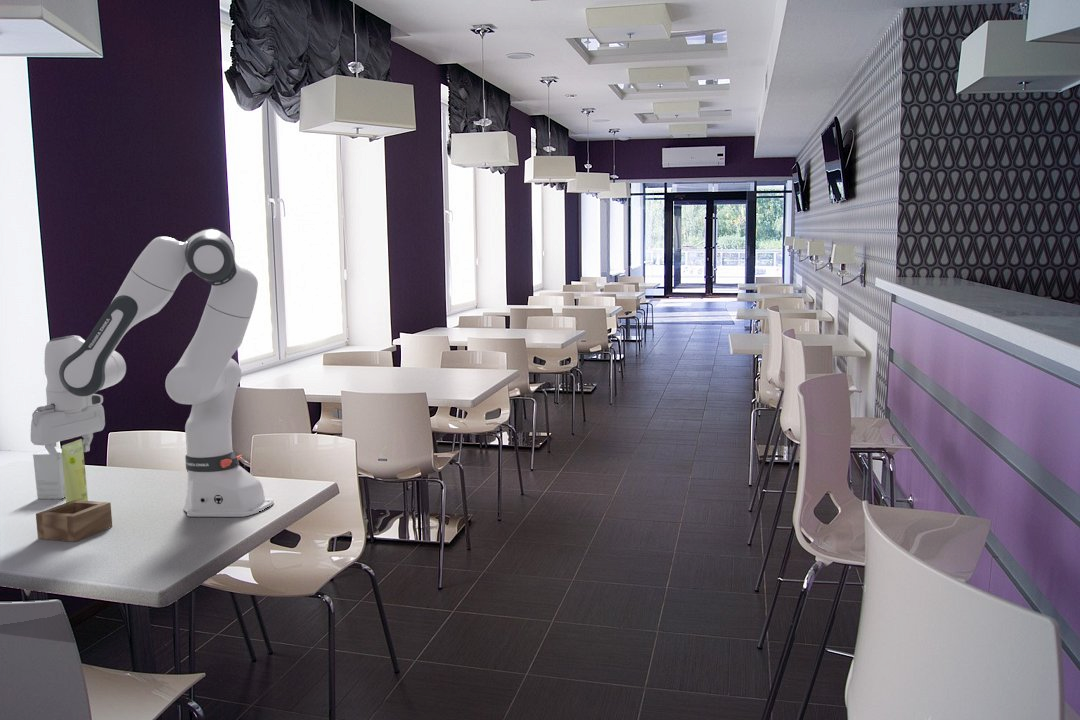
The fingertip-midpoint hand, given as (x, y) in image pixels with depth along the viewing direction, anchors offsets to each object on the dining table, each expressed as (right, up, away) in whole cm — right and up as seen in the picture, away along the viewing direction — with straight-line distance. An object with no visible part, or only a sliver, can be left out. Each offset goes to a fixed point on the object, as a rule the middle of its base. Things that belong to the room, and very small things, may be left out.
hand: (70, 455), depth 216 cm
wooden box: (+7, -17, -10) cm, 21 cm away
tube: (+1, -16, +2) cm, 16 cm away
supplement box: (-16, -14, +23) cm, 31 cm away
